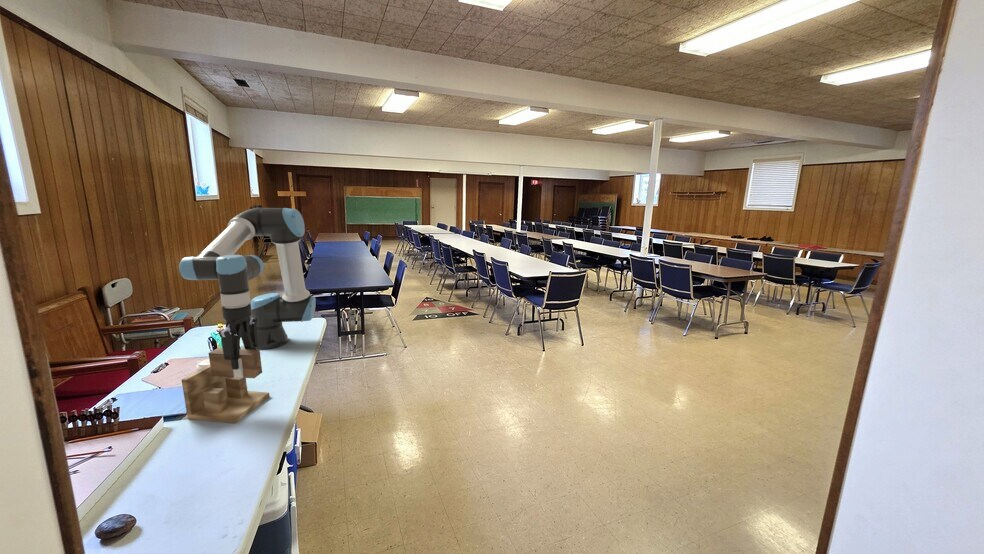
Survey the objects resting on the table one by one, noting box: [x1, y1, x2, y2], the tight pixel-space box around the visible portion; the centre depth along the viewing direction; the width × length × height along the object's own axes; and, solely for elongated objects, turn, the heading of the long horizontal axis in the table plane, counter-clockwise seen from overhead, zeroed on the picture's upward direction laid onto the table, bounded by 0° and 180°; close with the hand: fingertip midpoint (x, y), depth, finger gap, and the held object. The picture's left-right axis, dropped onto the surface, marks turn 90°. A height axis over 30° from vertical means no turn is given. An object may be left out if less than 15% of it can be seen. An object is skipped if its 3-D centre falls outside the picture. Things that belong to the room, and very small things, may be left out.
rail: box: [208, 347, 263, 379], centre depth 122 cm, size 4×14×8 cm, turn 87°
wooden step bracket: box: [181, 365, 270, 424], centre depth 125 cm, size 16×16×14 cm
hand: (244, 373), depth 123 cm, fingers closed on rail, 4 cm apart
